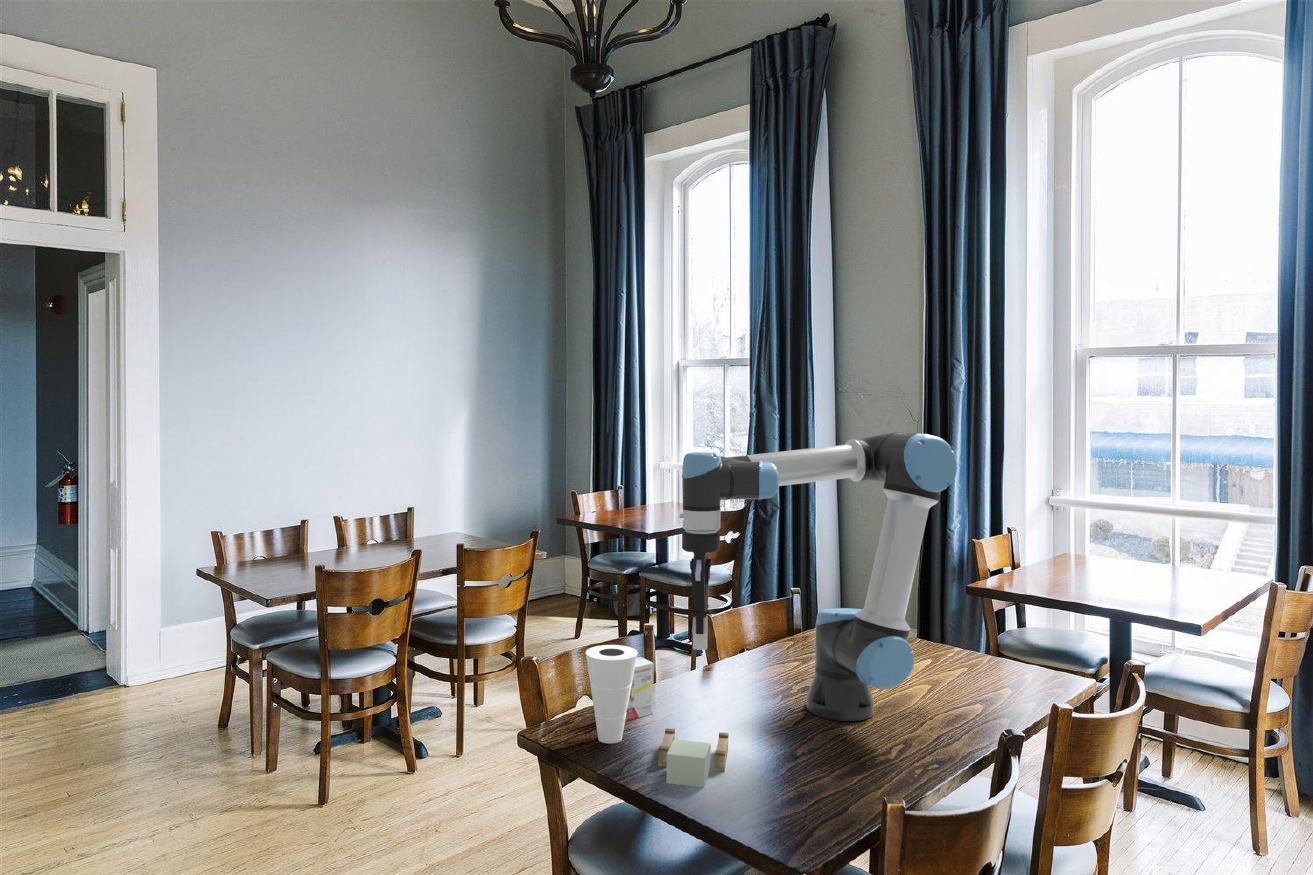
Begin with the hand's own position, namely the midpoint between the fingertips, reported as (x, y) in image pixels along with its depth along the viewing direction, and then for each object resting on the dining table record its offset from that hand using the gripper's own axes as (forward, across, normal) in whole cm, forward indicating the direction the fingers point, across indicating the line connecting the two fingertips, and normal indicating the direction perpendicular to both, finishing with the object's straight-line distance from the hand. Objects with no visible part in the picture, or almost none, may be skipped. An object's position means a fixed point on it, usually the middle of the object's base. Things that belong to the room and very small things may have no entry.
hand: (700, 648), depth 167 cm
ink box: (+21, -16, -17) cm, 31 cm away
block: (+21, +12, -1) cm, 24 cm away
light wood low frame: (+21, +4, -1) cm, 21 cm away
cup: (+21, -2, -19) cm, 28 cm away
